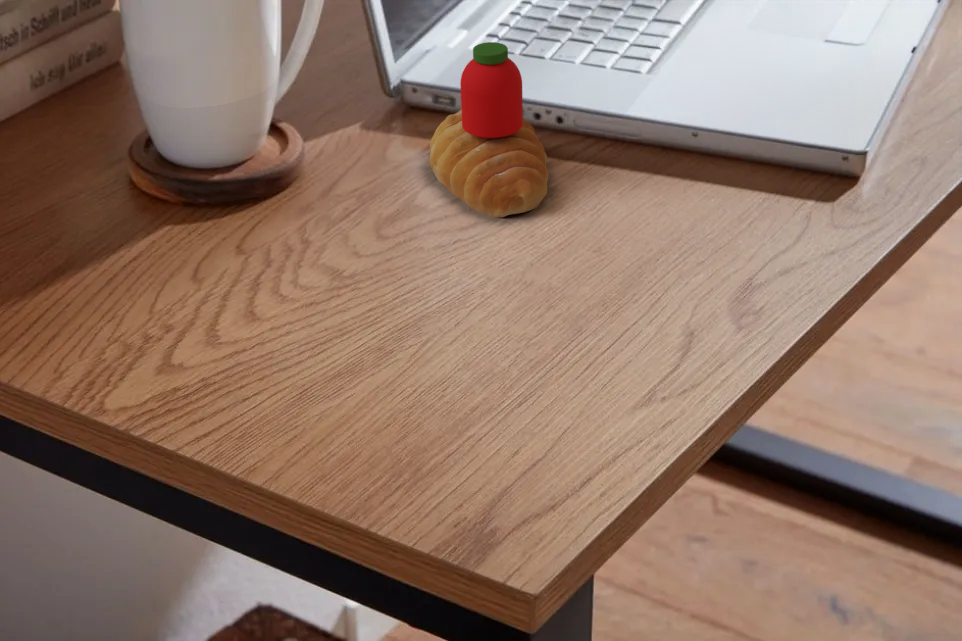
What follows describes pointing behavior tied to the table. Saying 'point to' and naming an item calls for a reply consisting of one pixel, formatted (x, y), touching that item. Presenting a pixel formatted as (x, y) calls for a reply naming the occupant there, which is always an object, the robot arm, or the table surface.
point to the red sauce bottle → (491, 93)
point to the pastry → (490, 168)
